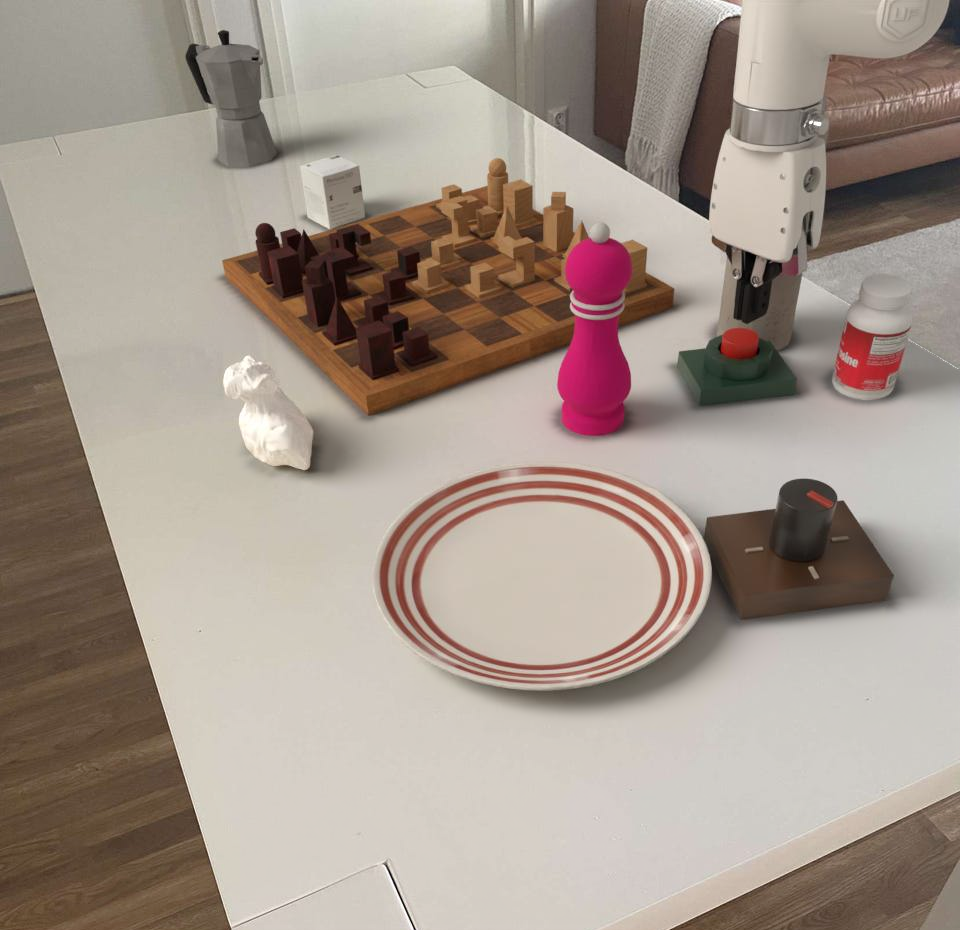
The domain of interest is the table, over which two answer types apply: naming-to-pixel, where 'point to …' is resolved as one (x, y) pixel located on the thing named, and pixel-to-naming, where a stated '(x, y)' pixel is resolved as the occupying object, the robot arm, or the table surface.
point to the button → (739, 343)
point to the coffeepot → (233, 100)
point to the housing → (735, 374)
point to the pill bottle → (874, 338)
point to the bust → (268, 416)
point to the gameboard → (430, 290)
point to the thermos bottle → (781, 303)
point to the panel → (794, 566)
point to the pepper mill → (596, 336)
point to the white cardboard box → (333, 191)
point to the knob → (802, 519)
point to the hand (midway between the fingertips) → (749, 316)
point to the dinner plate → (542, 575)
